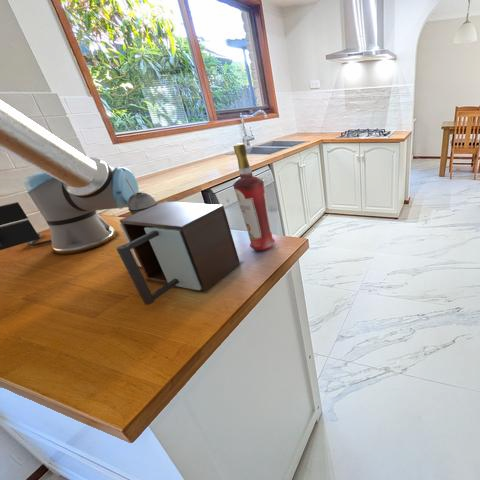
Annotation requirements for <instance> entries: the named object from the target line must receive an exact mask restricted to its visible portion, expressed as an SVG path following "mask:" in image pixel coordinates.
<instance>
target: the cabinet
mask: <svg viewBox="0 0 480 480" xmlns="http://www.w3.org/2000/svg"><path fill="white" fill-rule="evenodd" d="M119 223H120V224H121V225H122V227H123V229H124V231H125V233H126V235H127V237H128V239H129V241H130V242H131V241H133V240H135V239H137V238H139V237H141V236H143V235H146V232H145V230H144V228H146V227H149V228H158V229H167V230H175V231H180V234H181V237H182V239H183V242H184V244H185V247H186V250H187V252H188V255H189V258H190V260H191V263H192V266H193V268H194V271H195V273H196V276H197V279H198V281H199V284H200V287H201V290H200V291H203V292H207V291H208V290H209V289H210V288H212V287H213V286H214V285H215V284H216V283H218V282H219V281H220V280H221V279H222V278H224V277H225V276H226V275H228V274H229V273H230V272H232V270H234V269H235V268H236V267H237V266H239V265H240V264H241V262H240V259H239V255H238V251H237V248H236V245H235V241H234V238H233V233H232V230H231V227H230V224H229V220H228V217H227V213H226V210H225V206H224V205H223V204H211V203H198V202H183V201H170V200H165V201H162V202H161V203H157V205H155V206H153V207H150V208H148V209H145V210H143V211H141V212H138V213H136V214H133V215H132V214H130V215H129V216H126V217H123V218H121V219H119ZM133 250H134V252H135V254H136V256H137V258H138V260H139V262H140V264H141V266H142V267H141V268H142V271H143V273H144V275H145V277H146V279H147V280H148V281H151V282H156V283H160V284H165V285H166V284H167V283H168V282H167V280H166V277H165V275H164V273H163V270H162V268H161V266H160V264H159V261H158V259H157V257H156V255H155V252H154V250H153V248H152V246H151V243H150V241H149V240H148V241H146V242H144V243H142V244H140V245H139V246H137V247H135V248H133Z"/></svg>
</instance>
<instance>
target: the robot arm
mask: <svg viewBox="0 0 480 480" xmlns="http://www.w3.org/2000/svg"><path fill="white" fill-rule="evenodd" d="M0 151H1V152H4V153H5V154H7V155H8V156H9V155H10V156H11V157H13V158H15V159H17V160H19V161H21V162H22V163H24V164H26V165H28V166H30V167H32V168H34V169H36V170H38V171H39V173H35V174H31V175H28V176H26V177H25V178H24V179H23V185H24V187H25V189H26V190H27V192H26V193H27V194H28V195H29V197H30V199H31V200H32V202H33V203H34V205H35V206H36V208H37V209H38V211H39V212H40V214H41V216H42V217H43V219H44V220H45V221H46V223H47V225H48V227H49V232H50V239H47V240H43V241H38V240H40V239H42V237H43V234H41V233H38V232H37V231H36V229H35V228H34V226H33V224H32V222H31V221H30V219H29V217H28V216H27V214H26V213H25V211H24V209H23V208H22V206H21V204H20V202H18V201H17V202H12V203H7V204H3V205H0V251H3V250H6V249H10V248H13V247H17V246H19V245H23V244H26V243H27V245H28V246H31V247H35V246H40V245H45V244H49V243H51V248H52V249H53V250H54V252H55V253H56V254H58V255H69V254H70V255H71V254H77V253H81V252H86V251H88V250H92V249H94V248H97V247H100V246H102V245H105V244H106V243H108V242H110V241H111V240H113V239H114V238H115V237H116V232H115V228H114V227H112V226H111V225H109V223H107V222H106V221H105V220H104V218H103V217H101V216H100V215H99V214H98V212H97V211H103V210H104V211H105V210H115V209H119V210H123V209H124V208H125V209H126V208H128V200H129V198H130V197H131V196H132V195H133V194H134V193H133V192H132V190H131V188H130V187H129V185H128V183H127V181H126V180H125V179H128V181H129V183H130V184H131V186H132V188H133V189H134V191H135V193H139V191H140V190H139V184H138V180H137V178H136V176H135V174H134V173H133V172H132V171H131V170H130V169H129V168H126V167H121V166H117V167H112V166H111V165H109V164H107V163H106V162H105V161H103V160H102V159H100V158H97V157H87V156H85V155H84V154H83V153H82V152H80V151H78V150H77V149H75V148H74V147H72V146H71V145H69V144H68V143H66V142H65V141H63V140H62V139H60V138H59V137H57V136H56V135H54V134H53V133H51V132H50V131H48V130H47V129H45V128H44V127H42V126H41V125H39V124H38V123H36V122H35V121H33V120H32V119H31V118H29V117H27V116H26V115H24V114H23V113H22V112H20V111H18V110H17V109H15V108H14V107H12V106H11V105H9V104H8V103H6V102H5V101H3V100H2V99H0ZM36 241H38V242H36Z"/></svg>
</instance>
